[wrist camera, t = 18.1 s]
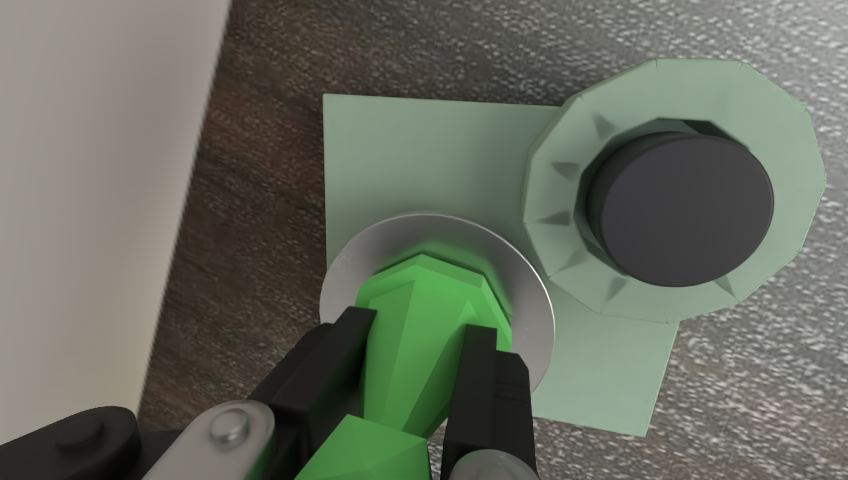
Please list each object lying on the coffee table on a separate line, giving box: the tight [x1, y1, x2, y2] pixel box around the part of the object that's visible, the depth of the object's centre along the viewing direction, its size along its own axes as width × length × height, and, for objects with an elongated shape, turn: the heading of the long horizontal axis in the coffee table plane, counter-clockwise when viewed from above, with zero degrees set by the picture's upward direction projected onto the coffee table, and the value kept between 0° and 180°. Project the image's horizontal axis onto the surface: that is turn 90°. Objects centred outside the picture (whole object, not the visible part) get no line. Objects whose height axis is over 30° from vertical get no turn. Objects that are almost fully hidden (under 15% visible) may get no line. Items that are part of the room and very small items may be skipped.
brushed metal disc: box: [320, 210, 556, 427], centre depth 11 cm, size 7×7×1 cm
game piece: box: [294, 254, 512, 480], centre depth 8 cm, size 4×4×6 cm
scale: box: [323, 58, 827, 437], centre depth 12 cm, size 12×11×4 cm
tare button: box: [586, 131, 774, 287], centre depth 9 cm, size 3×3×2 cm
